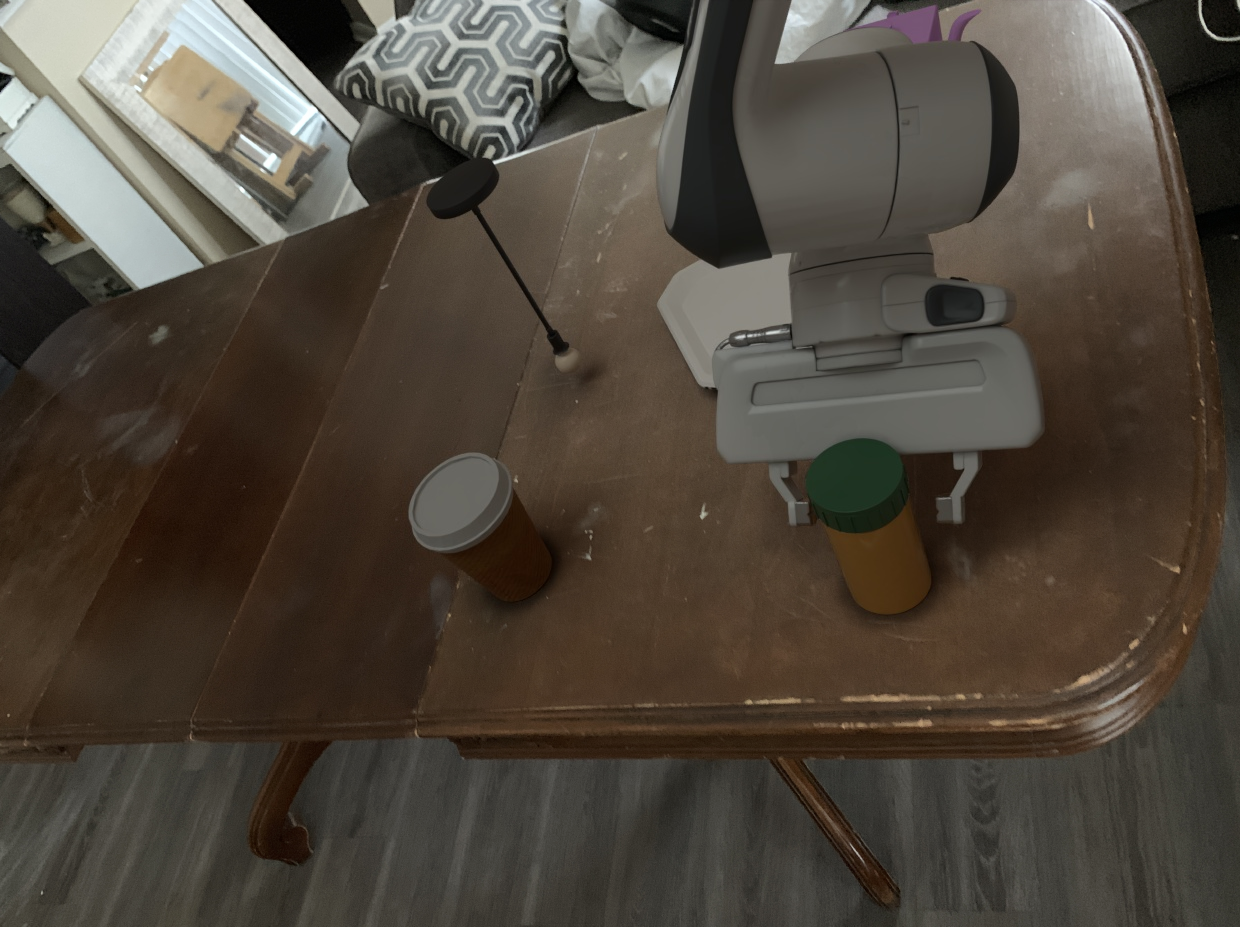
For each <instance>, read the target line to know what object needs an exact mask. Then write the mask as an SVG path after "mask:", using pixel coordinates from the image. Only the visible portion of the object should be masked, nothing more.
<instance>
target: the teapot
mask: <svg viewBox="0 0 1240 927" xmlns="http://www.w3.org/2000/svg"><path fill="white" fill-rule="evenodd" d="M981 12H982V9H981V8H978V9H973V10H968V11H967V12H964V13H962V14H961V15H959V16H958V17H957V18H955V19H954V21H953V23H952V25H951V26H950V30H949V33H948V37H947V40H951V41H962V38H963V37H962V36H963V33H964V30H965V29H966V26H968V24H969V23H970V21H972V20H973V19H974V18H975V17H976V16H978V15H980V13H981ZM862 27H886V28H891V29H895V30H897V31H900V32H902V33H904V34H905V35H907V36H908V37H909V38H910V40H911V41H912V43H913V44H915V43H923V42H932V41H944V39H943V34H942V27H941V21H940V13H939V7H938V4H933V5H929V6H926V7H922V8H919V9H915V10H912V11H908V12H904V13H901V14H900V12H899V9H897V10H892V11H889V12H888V13H887V14H886V18H884V19H880V20H877V21H873V22H870V23H866V24H865V23H864V24H862V25H859V26H855V27H852V28H848V29H845V30H843V31H842V32H844V31H847V30H851V29H856V28H862Z"/></svg>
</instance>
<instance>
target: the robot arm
mask: <svg viewBox="0 0 1240 927" xmlns="http://www.w3.org/2000/svg"><path fill="white" fill-rule="evenodd" d="M792 1H793V0H691V3H690V10H689V14H688V19H687V25H686V31H685V35H684V42H683V46H682V51H681V55H680V59H679V64H678V68H677V72H676V75H675V79H674V83H673V86H672V89H671V93H670V97H669V98H670V99H669V101H668V106H667V109H666V116H665V119H664V123H663V125H662V128H661V132H660V136H659V140H658V145H657V151H656V158H655V188H656V195H657V202H658V205H659V210H660V213H661V216H662V219H663V223H664V227H665V231H666V233H667V234H668V235H669V236H670V237H671V238H672V239H673V240H674V241H675V242H676V243H678V244H679V245H680V246H681V247H682V248H683V249H685V250H687V251H688V252H689V253H691V254H692V255H693V256H695V257H697V258H698V259H699V260H700V259H702V260H703V261H705V262H707V263H708V264H710V265H712V266H714V267H716V268H718V269H721V268H726V267H731V266H735V265H740V264H745V263H750V262H755V261H759V260H764V259H769V258H772V255H779V254H787V253H791V257H790V262H789V267H788V276H789V277H788V282H789V296H790V310H791V323H789V324H782V325H775V326H769V327H765V328H763V329H757V330H740V331H736V332H733V333H731V334H730V335H729V338H727V339H725V340H723V341H722V342H721V343H720V344H719V345H718V346H717V347H716V349H715V351H714V353H713V356H712V371H713V381H714V384H715V387H716V389H717V390H716V391H717V398H716V399H717V400H716V410H715V411H716V413H715V444H716V450H717V451H716V452H717V453H718V455H719V456H720V457H721V458H722V460H724V461H725V463H726V464H728V465H747V464H768V477H769V480H770V482H771V484H772V485H773V486H774V487H775V489H776V490H777V491H778V494H780V496H781V497H782V500H784V502H785V503H787V513H788V523H789V527H791V528H793V527H794V528H798V527H801V528H802V527H813V526H814V525H816V524H817V521H818V518H817V516H816V513H815V511H814V509H813V508H812V505H811V503H810V500H809V498H808V497H804V495H803V493H802V492H801V490H800V489H799V487H798V486H797V484H796V483H795V480H794V479H793V477H792V476H794V475H797V474H798V472H799V468H798V462H800V461H801V462H802V461H814V460H815V458H816V457H817V456H818V455H819V454H821V453H822V452H823V451H824V450H826V449H827V448H829V447H831V446H833V445H835V444H837V443H839V442H842V441H845V440H850V439H856V438H870V439H875V440H879V441H882V442H884V443H886V444H888V445H890V446H891V447H892V448H893V449H895V450H896V452H897V453H898V454H899V456H907V455H927V454H941V453H942V454H944V453H945V454H946V453H952V458H953V469H954V470H956V471H959V470H960V471H961V470H963V469H964V470H963V472H962V473H961V475H960V477H959V478H958V481H957V482H956V484H955V485H954V488H952V490H951V492H949V493H939V494H938V495H937V496H936V497H935V509H936V510H937V511H938V512H937V514H936V523H937V525H963V524H964V523H965V521H966V501H965V500H966V498H965V495H966V494H967V493H968V491H969V489H970V487H971V486H972V484H973V483H974V480H975V478H976V477H977V475H978V473H979V471H980V470H981V468H982V466H983V451H997V450H1012V449H1013V450H1015V449H1027V448H1030V447H1031V446H1033V445H1034V444H1035V443H1036V442H1037V441H1038V440H1040V438H1041V437H1042V436H1043V434H1044V433H1045V429H1046V417H1045V404H1044V397H1043V391H1042V385H1041V378H1040V373H1039V369H1038V364H1037V361H1036V356H1035V354H1034V350H1033V348H1032V346H1031V344H1030V342H1029V340H1028V339H1027V338H1026V337H1025V335H1023V333H1021V332H1020V331H1018V330H1016V329H1015V328H1011V327H1009V326H1005V325H1007V324H1009V323H1012V321H1014V319H1015V318H1016V315H1017V309H1018V308H1017V307H1018V301H1017V295H1016V294H1015V292H1013V290H1011V289H1010V288H1008V287H1005V286H1002V285H998V284H990V283H984V282H976V281H970V280H969V279H968V278H965V277H961V276H950V277H949V278H946V277H940V276H939V277H938V274H937V273H936V269H935V256H934V250H933V246H932V243H931V240H930V237H929V235H933V234H939V233H943V232H946V231H950V230H952V229H954V228H957V227H959V226H962V225H964V224H969V223H972V222H974V221H975V219H977V218H978V217H979V216H980V215H982V213H984V212H985V211H986V210H987V209H988V207H989V206H990V205H991V204H993V202H994V201H995V200H996V198H997V197H998V196H999V195H1000V194H1001V193H1002V192H1003V190H1004V189H1005V187H1006V186H1007V185H1008V183H1009V182H1010V180H1011V179H1012V178H1013V177H1014V174H1015V172H1016V169H1017V165H1018V160H1019V159H1018V158H1019V151H1020V134H1021V133H1020V132H1021V131H1020V130H1021V128H1020V126H1021V125H1020V123H1021V122H1020V120H1021V119H1020V105H1019V104H1020V102H1019V96H1018V90H1017V87H1016V84H1015V82H1014V80H1013V78H1012V76H1011V75H1010V73H1009V72H1008V71H1007V69H1006V67H1005V66H1004V65H1003V63H1001V61H1000V60H999V59H998V58H997V57H996V56H995V54H993V53H992V52H991V51H990V50H989V49H988V48H986V47H985V46H984V45H982V44H980V43H979V42H977V41H975V40H969V41H962V40H961V41H951V40H948V39H947V40H945V39H943V41H932V42H923V43H915V44H913V43H912V41H911V40H910V38H909V37H908V36H907V35H905V34H904V33H902V32H900V31H897V30H895V29H891V28H886V27H862V28H856V29H852V28H850V29H851V30H848V29H846V30H847V31H845V30H843V31H844V32H843V31H840V32H838V33H835V34H833V35H830V36H828V37H825V38H824V39H821V40H819V41H818V42H816V43H815V44H813V45H811V46H809V48H807V49H806V50H805V51H803V52H802V53H801V54H800V55H799V56H798V57H797V58H796V59H795V60H794V61H792V62H783V63H776V60H777V56H778V52H779V49H780V45H781V42H782V39H783V34H784V30H785V27H786V23H787V18H788V15H789V12H790V9H791V5H792ZM758 343H767V344H760V345H752V346H750V345H751V344H758ZM728 344H730V345H731V346H732V347H737V348H729V349H723V348H724V347H725V346H726V345H728ZM802 347H807V348H802ZM796 348H799V349H796Z"/></svg>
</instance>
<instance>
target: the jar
mask: <svg viewBox="0 0 1240 927" xmlns="http://www.w3.org/2000/svg"><path fill="white" fill-rule="evenodd" d="M820 522H821V524H822V527H823V529H824V532H825V533H826V536H827V539H828V541H829V544H830V546H831V549H832V551H833V553H834V556H835V559H836V561H837V563H838V566H839V569H840V572H841V573H842V576H843V579H844V582H845V584H846V586H847V588H848V591H849V593H850V595H851V597H852V599H853V601H854V602H855V603H856V604H857V605H858V606H859V607H861V608H862V609H864V610H866V611H868V612H870V613H874V614H877V615H886V616H887V615H888V616H889V615H897V614H901V613H904V612H906V611H907V612H908V611H909V610H911V609H913V608H914V607H916V606H918V605H919V604H920V603H922V601H923V600H924V599H925V598H926V596H927V595H928V594H929V593H928V592H929V591H930V589H931V586H932V571H931V568H930V565H929V561H928V558H927V553H926V549H925V546H924V542H923V539H922V536H921V532H920V529H919V525H918V521H917V518H916V513H915V510H914V507H913V503H912V499H911V496H910V495H909V496H908V500H907V505H905V507H904V508H903V510H902V511H901V513H900V514H899V516H898V517H896V518H895V519H893V520H892V521H891V522H890V523H888V524H886V525H885V526H883V527H881V528H878V529H876V530H873V531H869V532H865V533H856V534H854V533H844V532H839V531H837V530H834V529H832V528H830V527H827V526H826V525H825V524H824V523H823V522H822V521H821V520H820Z"/></svg>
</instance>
